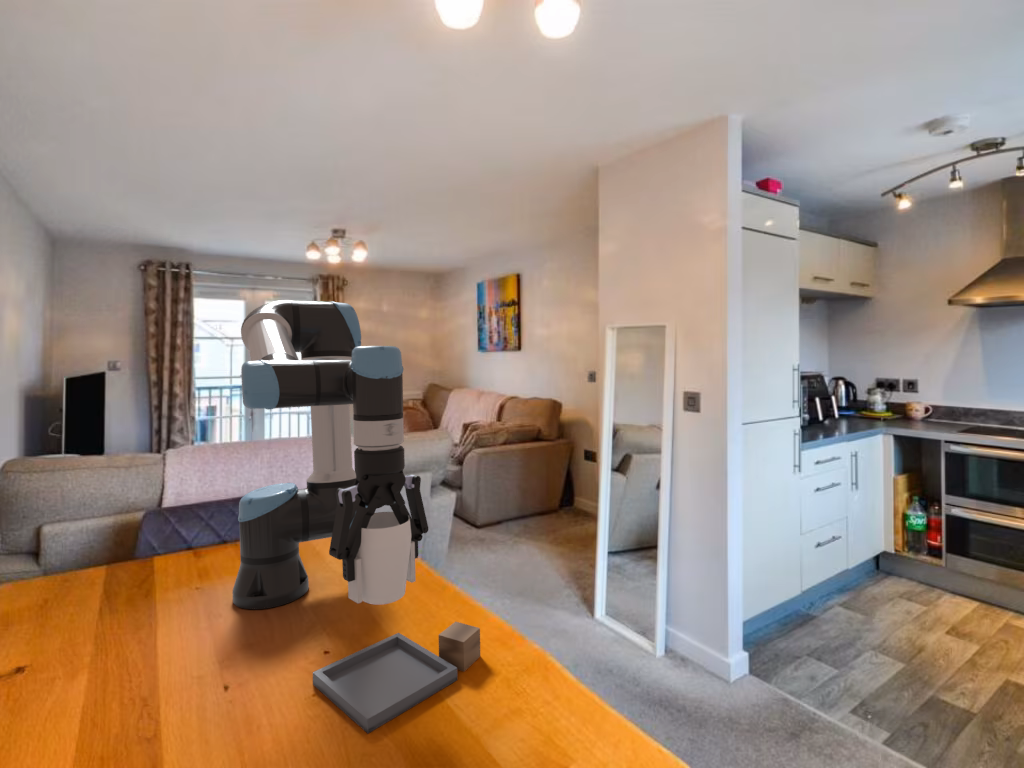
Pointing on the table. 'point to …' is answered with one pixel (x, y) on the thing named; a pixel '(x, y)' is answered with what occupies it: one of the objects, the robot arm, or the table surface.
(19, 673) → the table surface
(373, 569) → the cup
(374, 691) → the tray
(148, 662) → the table surface
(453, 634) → the walnut cube
